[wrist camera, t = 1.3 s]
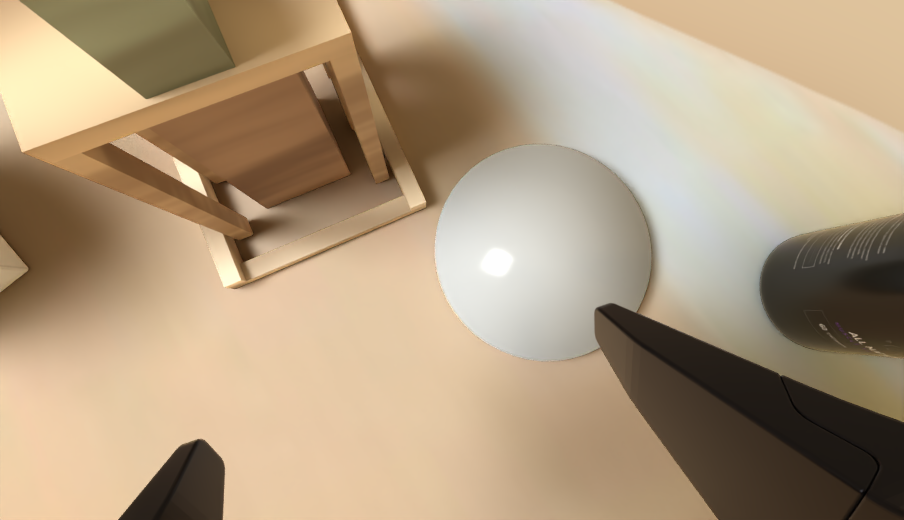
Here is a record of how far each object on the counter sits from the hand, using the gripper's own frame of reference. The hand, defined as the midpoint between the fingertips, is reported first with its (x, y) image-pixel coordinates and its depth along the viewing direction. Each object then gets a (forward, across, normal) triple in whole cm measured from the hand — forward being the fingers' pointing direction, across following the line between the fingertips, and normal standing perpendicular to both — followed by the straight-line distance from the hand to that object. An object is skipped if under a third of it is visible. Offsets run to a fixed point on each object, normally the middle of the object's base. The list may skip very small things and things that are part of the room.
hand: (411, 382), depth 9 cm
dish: (+12, -8, +6) cm, 16 cm away
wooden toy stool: (+18, +4, -1) cm, 19 cm away
